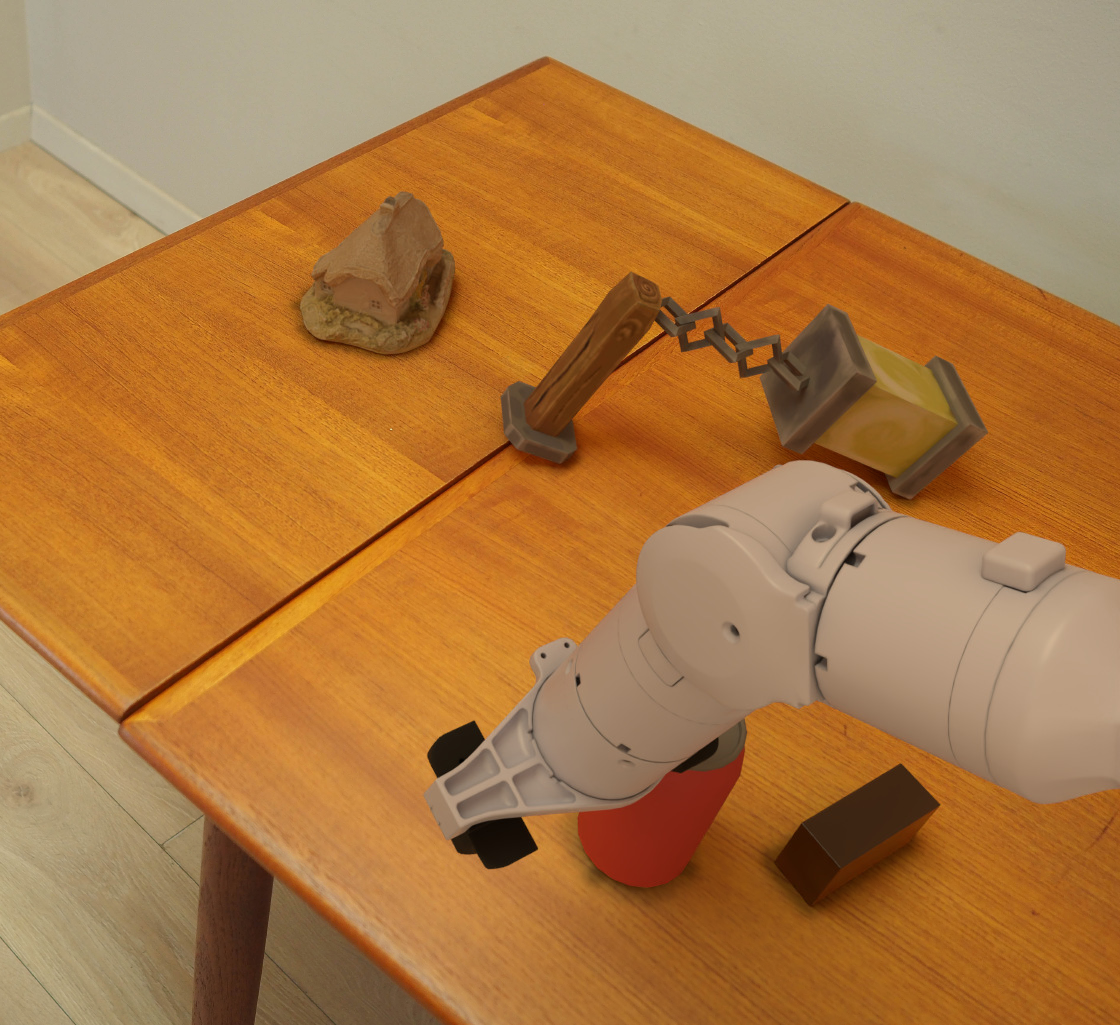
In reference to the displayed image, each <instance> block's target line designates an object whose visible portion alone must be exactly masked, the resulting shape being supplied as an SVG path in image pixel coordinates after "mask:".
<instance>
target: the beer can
mask: <svg viewBox="0 0 1120 1025" xmlns="http://www.w3.org/2000/svg"><path fill="white" fill-rule="evenodd" d="M747 736H748V730H747V723H746V717H745V718H744V719H742V720H741V721H740V722H738V723H737V724H735V725H734V726H733V727H731V728H730V729H728V730H727V731H726V732H724V733H723V734H721V735H720V736H719V737H718V738H719V745H718V749H717V751H716V752H715V754H714V755H713V756H711V757H710V758H709V759H707V760H705V761H704V762H702V763H700V764H698V765H696V766H694V767H692V768H690V769H689V770H687V771H685V772H683V773H677V772H672V771H670V772H668V773H667V774H665V776H664V777H663V778H662V780H661V781H660V782H659V783H658V784H657V785H656V786H655V788H654V789H653V790H652V791H651V792H649V793H648V794H646V795H645V796H644V797H642V798H641V799H640V800H638V801H636V802H635V803H633V804H630V805H628V806H625V807H622V808H616V809H609V810H597V811H585V812H578V814H577V817H576V819H577V835H578V838H579V840H580V843H581V846H582V848H583V851H584V853H585V854H586V856H587V857H588V858H589V859H590V861H591V862H592V863H593V865H594V866H595V867H596V868H597V869H598V870H599V871H601V872H602V873H603V874H605V875H606V876H607V877H609V878H610V879H612V880H614V881H616V882H618V883H621V884H623V885H626V886H629V887H639V888H653V887H657V886H662V885H665V884H668V883H669V882H671V881H673V880H674V879H676V878H677V877H678V876H680V875H682V873H683V872H684V870H685V869H686V867H687V866H688V864H689V863H690V861H691V860H692V858H693V856H694V854H695V853H696V851H697V850H698V848H699V846H700V844H701V843H702V841H703V840H704V838H705V836H706V834H707V832H708V831H709V829H710V827H711V826H712V824H713V823H714V821H715V819H716V817H717V816H718V814H719V812H720V811H721V809H722V808H723V805H724V804H725V802H726V800H727V799H728V798H729V796H730V794H731V792H732V791H733V789H734V787H735V785H736V784H737V782H738V780H739V778H740V777H741V775H742V770H743V764H744V759H745V753H746V740H747Z"/></svg>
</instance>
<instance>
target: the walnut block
mask: <svg viewBox="0 0 1120 1025" xmlns="http://www.w3.org/2000/svg"><path fill="white" fill-rule="evenodd" d="M940 807H941V803H940V802H939V801H938V800H937V799H936V798H935V797H934V796H933V795H932V794H931V793H930V791H928V790H927V788H926V787H925V786H924V785H923V784H922V783H921V782H920V781H919V780H918V779H917V778H916V777H915V776H914V774H912V773H911V771H909V769H908V768H907V767H905V765H904V764H903V763H901V762H900V763H898V764H897V765H895V766H894V767H891V768H890V769H889V770H886V771H885V772H883V773H882V774H880V775H878V776H877V777H875V778H873V779H872V780H870V781H869V782H866V783H865V784H864V785H862V786H860V787H858V788H857V789H855V790H854V791H851V792H850V793H849V794H847V795H845V796H844V797H841V798H840V799H839V800H837V801H835V802H833V803H832V804H830V805H829V806H826V807H825V808H824V809H822V810H820V811H818V812H817V813H815V814H813V815H812V816H810V817H808V818H807V819H806V820H803V821H802V822H801V823H800V824H799V825H798V827H797V828H796V830H795V831H794V833H793V834H792V836H790V838H789V840H788V841H787V842H786V844H785V845H784V847H783V848H782V850H781V851H780V852H779V854H778V855H777V856H776V858H775V860H774V864H775V865H776V866H777V868H778V869H779V870H780V871H781V872H782V874H783V875H784V876H785V877H786V879H787V880H788V881H789V883H791V885H792V886H793V887H794V888H795V890H796V891H797V892H798V893H799V894H800V896H801V897H802V898H803V899H804V900H805V902H806V903H807V904H808V905H809V906H810V907H812V906H814V905H815V904H817V903H819V902H820V901H822V900H823V899H824V898H826V897H827V896H829V895H830V894H832V893H834V892H835V891H838V889H840V888H841V887H843V886H845V885H846V884H848V883H849V882H851V881H852V880H854V879H856V878H857V877H859V876H860V875H861V874H863V873H865V872H866V871H867V870H870V869H871V868H873V867H874V866H875V865H877V864H878V863H880V862H881V861H883V860H885V859H886V858H888V857H889V856H891V855H892V854H894V853H896V852H897V851H899V850H901V849H902V848H904V847H905V846H906V845H908V844H909V843H910V842H911V840H912V839H913V838H914V837H915V836H916V834H918V832H919V831H920V830H921V829H922V828H923V826H924V825H925V824H926V823H927V822H928V820H930V818H931V817H932V816H933V815H934V814H935V813H936V812H937V810H938V809H939V808H940Z"/></svg>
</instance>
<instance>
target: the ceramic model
mask: <svg viewBox="0 0 1120 1025" xmlns="http://www.w3.org/2000/svg"><path fill="white" fill-rule="evenodd" d="M444 246H445V241H444V237H443V236H442V231H441V229H440V228H439V226H438V224H437V222H436V220H435V219H434V217H433V214H432V213H431V210H430V209H429V206H427V204H426V203H425V202H424V201H422V200H421V199H419V198H416V197H414V193H413V192H408V191H403V190H401V191H398V193H397V194H396V195H395V196H391V195H389V196H387V197H385V199H384V201H383V202H382V203H381V204H380V205H379V208H378V209H377V210H376V211H374V212H372V214H371V215H370V216H369V217H368V218H366V219H365V221H363V222H362V223H361V224H360V225H358V226H357V227H356V228H355V229H354V230H353V231H351V233H350V234H349V235H348V236H346V237H345V238H344V240H342V241H341V242H339V244H338V245H337V247H334V248H332V249H330V250H329V251H328V252H326V253H324V254H323V255H321V256H320V257H319V258H318V260H317V261H316V263H315V264H314V265H313V268H312V271H311V274H310V275H311V278H312V280H313V281H312V286H311V287H310V288H309V289H308V290H307V291H306V293H305V294H304V295H303V296H302V297H301V301H300V304H299V310H300V311H301V315H302V318H303V319H302V320H303V323H304V326H305V329H306V330H307V331H308V332H309V334H310V333H311V335H312V336H314V337H315V338H317V339H318V340H322V341H328V342H335V343H342V344H344V345H345V344H346V345H349V346H353V347H358V348H360V349H363V350H367V351H369V352H374V353H376V354H379V355H380V354H381V355H396V354H402V353H407V352H409V351H413V350H414V349H418V348H420V347H421V346H424V345H426V344H427V343H428V342H430V341H431V339H432V338H433V336H434V335H435V334H434V333H435V332H436V329H437V328H438V326H439V324H440V323H441V320H442V318H443V317H444V315H445V311H446V310H447V306H448V304H449V301H450V297H451V294H452V289H453V282H454V279H455V274H456V262H455V258H454V254H452V251H449V250H448V249H446V248H444Z"/></svg>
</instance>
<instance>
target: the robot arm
mask: <svg viewBox="0 0 1120 1025" xmlns="http://www.w3.org/2000/svg"><path fill="white" fill-rule="evenodd" d="M1066 556H1067V549H1066V546H1064V544H1062V543H1061V542H1058V541H1053V540H1051V539H1047V538H1043V537H1040V536H1037V535H1033V534H1030V533H1027V532H1023V531H1017V532H1015V533H1012V534H1011V535H1010V536H1009V537H1008V536H1007V538H1005V539H1004V540H1002V541H1000V542H996V541H992V540H989V539H986V538H983V537H979V536H976V535H973V534H969V533H966V532H962V531H960V530H956V529H953V528H949V527H947V526H943V525H940V524H937V523H933V522H930V521H927V520H923V519H920V518H916V517H913V516H910V515H907V514H905V513H900V512H896V511H894V510H892V508H891V506H890V505H889V504H888V502H886V501H885V499H884V498H883V496H882V495H881V494H880V493H879V492H878V491H877V490H876V489H875V487H873V486H871V485H870V484H869V483H868V482H866V481H865V480H864V479H862V478H860V477H859V476H857V475H856V474H854V473H851V472H849V471H846V470H845V469H840V468H838V467H835V466H833V465H829V464H827V463H826V462H825V463H824V462H820V461H816V460H808V459H807V460H804V459H803V460H802V459H801V460H800V459H798V460H792V461H788V462H786V463H784V464H777V465H775V466H773V468H772V469H770V470H767V471H766V472H764V473H762V474H760V475H758V476H756V477H754V478H752V479H750V480H748V481H745V483H743V484H740V485H738V486H736V487H734V488H733V489H731V490H729V491H726V492H725V493H723V494H721V495H719V496H716V497H715V498H712V499H711V500H708V501H707V502H705V503H702V504H701V505H699V506H697V507H695V508H693V509H691V510H689V511H687V512H685V513H683V514H682V515H680V516H678V517H675V518H674V519H672V520H671V521H670V522H668V523H667V524H666V525H665V526H664V527H662V528H660V529H657V531H655V532H654V533H652V534H651V535H650V536H649V537H648V539H646V540H645V542H644V544H643V545H642V547H641V549H640V552H639V555H638V557H637V563H636V570H635V583H634V585H632V587H631V588H630V589H628V590H627V592H626V593H625V594H624V595H623V596H622V598H620V599H619V601H617V603H616V604H615V605H614V606H613V607H612V608H611V609H610V610H609V612H607V614H606V615H605V616H604V617H603V618H601V620H600V621H599V622H598V623H597V625H595V626H594V628H592V630H591V631H590V632H589V633H588V634H587V636H586V637H585V638H584V639H583V640H581V642H580V643H579V644H577V643H576V642H575V641H574V639H572V638H570V637H566V636H565V637H560V638H557V639H555V640H553V641H550V642H548V643H546V644H543V645H541V646H538V648H536V649H535V650H534V652H532V654H531V655H530V657H529V660H528V663H529V666H530V668H531V669H530V670H532V673H533V674H534V676H535V682H534V685H533V687H532V688H531V689H530V690H529V691H528V692H527V693H526V694H525V695H524V697H523V698H522V699H521V700H520V701H518V703H517V704H516V705H515V706H514V708H512V709H511V711H510V712H509V713H508V714H507V715H506V716H505V717H504V719H502V720H501V721H500V723H499V724H498V725H497V726H496V727H494V729H493V730H492V732H490V734H489V735H488V736H487V737H486V738H485V736H484V735H483V732H482V730H481V729H480V728H479V725H478V723H477V722H476V720H471V721H470V722H467V723H465V724H463V725H460V726H459V727H456V728H454V729H452V730H450V731H447V732H446V733H443V734H442V735H440V736H438V737H437V739H435V741H434V742H433V743H432V745H431V746H430V748H429V749H428V751H427V753H426V757H427V760H428V762H429V765H430V767H431V769H432V771H433V774H434V775H435V776H436V779H435V780H434V781H433V782H432V783H431V784H430V785H429V787H427V789H426V790H425V791H424V792H423V793H422V794H423V795H422V796H423V798H424V800H425V803H426V804H427V806H428V808H429V811H430V812H431V814H432V816H433V818H434V820H435V822H436V824H437V826H438V827H439V829H440V831H441V833H442V835H443V837H444V838H445V840H446V841H451V843H452V845H453V847H454V849H455V851H456V852H457V853H458V854H460V855H464V856H465V855H466V856H467V855H469V856H470V855H477V857H478V858H479V860H480V862H481V863H482V865H483V867H484V868H485V869H486V870H497V869H498V870H499V869H502V868H506V867H508V866H511V865H513V864H514V863H516V862H519V861H520V860H521V859H523V858H526V857H527V856H529V855H531V854H533V853H535V852H537V851H539V846H538V845H537V843H536V841H535V839H534V837H533V835H532V833H531V831H530V830H529V828H528V826H527V825H526V823H525V820H524V819H523V818H524V817H536V816H537V817H538V816H549V815H550V816H551V815H560V814H572V813H573V814H574V813H579V812H585V811H597V810H609V809H616V808H622V807H625V806H628V805H630V804H633V803H635V802H636V801H638V800H640V799H641V798H642V797H644V796H645V795H646V794H648V793H649V792H651V791H652V790H653V789H654V788H655V786H656V785H657V784H658V783H659V782H660V781H661V780H662V778H663V777H664V776H665V774H667V773H668V772H670V771H672V772H677V773H683V772H685V771H687V770H689V769H690V768H692V767H694V766H696V765H698V764H700V763H702V762H704V761H705V760H707V759H709V758H710V757H711V756H713V755H714V754H715V752H716V751H717V749H718V745H719V738H718V737H719V736H720V735H721V734H723V733H724V732H726V731H727V730H728V729H730V728H731V727H733V726H734V725H735V724H737V723H738V722H740V721H741V720H742V719H744V718H745V719H746V718H747V717H748V716H750V715H751V714H753V713H754V712H755V711H756V710H760V709H763V708H765V707H767V706H770V705H771V704H774V703H782V704H786V705H788V706H791V707H793V708H795V709H797V710H800V709H802V708H804V707H808V706H809V707H810V706H811V705H812V704H813V703H815V702H819V703H822V704H824V705H826V706H828V707H831V708H832V709H835V710H837V711H838V712H841V713H843V714H845V715H847V716H849V717H851V718H853V719H856V720H858V721H860V722H861V723H864V724H866V725H868V726H870V727H873V728H875V729H877V730H879V731H881V732H883V733H886V734H888V735H889V736H892V737H893V738H896V739H898V740H900V741H902V742H904V743H906V744H909V745H911V746H913V747H915V748H917V749H919V750H922V751H923V752H926V753H928V754H930V755H932V756H934V757H936V758H938V759H941V760H942V761H944V762H947V763H949V764H951V765H952V766H955V767H958V768H959V769H962V770H964V771H966V772H968V773H970V774H972V775H974V776H976V777H978V778H980V779H983V780H985V781H987V782H989V783H991V784H993V785H996V786H998V787H999V788H1002V789H1005V790H1007V791H1010V792H1011V793H1013V794H1016V795H1018V796H1019V797H1021V798H1023V799H1026V800H1028V801H1030V802H1031V803H1034V804H1039V805H1053V804H1059V803H1063V802H1066V801H1067V802H1068V801H1071V800H1074V799H1077V798H1081V797H1084V796H1088V795H1092V794H1096V793H1101V792H1105V791H1111V790H1120V579H1119V578H1116V577H1111V576H1108V575H1104V574H1101V573H1098V572H1095V571H1092V570H1090V569H1086V568H1082V567H1079V566H1076V565H1073V564H1069V563H1066Z"/></svg>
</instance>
